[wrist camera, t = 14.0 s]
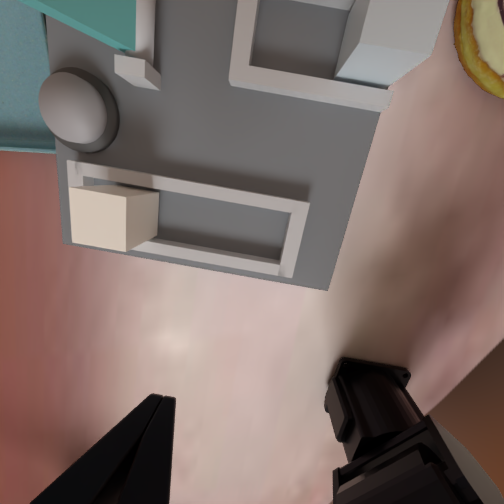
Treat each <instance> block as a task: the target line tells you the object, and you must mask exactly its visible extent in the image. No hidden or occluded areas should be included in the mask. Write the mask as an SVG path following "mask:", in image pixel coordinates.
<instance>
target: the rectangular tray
mask: <svg viewBox="0 0 504 504" xmlns="http://www.w3.org/2000/svg"><path fill="white" fill-rule="evenodd" d="M49 76H50V66H49V53H48V40H47V26H46V14H44V13H42V12H40V11H38V10H36V9H34V8H32V7H30V6H28V5H26V4H24V3H22V2H20V1H18V0H0V150H3V151H19V152H36V153H51V154H56V145H55V136H54V135H53V134H52V133H51V131H50V130H49V128H48V126H47V125H46V123H45V121H44V120H43V117H42V115H41V112H40V109H39V100H38V98H39V91H40V88H41V85H42V84H43V82H44V81H45V79H46V78H47V77H49Z"/></svg>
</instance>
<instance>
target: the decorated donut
mask: <svg viewBox="0 0 504 504" xmlns="http://www.w3.org/2000/svg"><path fill="white" fill-rule="evenodd" d="M454 37H455V43H454V45H456V46H455V48H456V50H457V53H458V58H459V61H460V62H461V63H462V66H463V68H464V70H465V71H466V73H467V74H468V76H469V77H471V78H472V79H473V81H474V82H475V83H476V84H477V85H479V86H480V87H481V89H483V90H484V91H486V92H488V93H490V94H493V95H495V96H497V97H500V98H502V99H504V0H458V4H457V9H456V15H455V19H454Z"/></svg>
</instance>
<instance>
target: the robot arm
mask: <svg viewBox="0 0 504 504" xmlns="http://www.w3.org/2000/svg"><path fill="white" fill-rule="evenodd" d="M344 363H346V364H344ZM410 377H411V373H410V372H409V371H408V369H406V368H402V367H396V366H391V365H385V364H380V363H374V362H369V361H363V360H357V359H352V358H346V357H344V358H342V359H340V361H339V364H338V367H337V369H336V372H335V375H334V377H333V378H332V379H331V382H330V385H329V387H328V390H327V393H326V396H325V400H326V401H325V404H324V408H325V411H326V412H327V413H329V414H330V418H331V422H332V426H333V429H334V433H335V437H336V439H337V441H338V442H341V443H343V446H344V450H345V453H346V457H347V460H348V464H346V465H345V466H343V467H341V468H339V467H338V468H336V469H335V470H333V504H504V499H503V498H502V495H501V493H500V491H499V489H498V488H497V486H496V485H495V484H494V482H493V481H492V480H491V479H490V477H489V476H488V475H487V474H486V473H485V471H484V470H483V469H482V467H481V466H480V465H479V464H478V462H477V461H476V460H475V458H474V457H473V456H472V455H471V453H470V452H469V451H468V450H467V449H466V448H465V447H464V446H463V445H462V444H461V443H460V442H459V441H458V440H457V439H456V438H454V437H453V436H452V435H451V434H450V433H449V432H448V431H447V430H446V429H445V428H444V427H442V426H441V425H440V424H439V423H438V422H437V421H436V420H435V419H434V418H433V417H431V415H427V416H425V417H424V416H423V414H422V413H421V411H420V410H419V408H418V407H417V405H416V403H415V402H414V400H413V399H412V397H411V396H410V394H409V393H408V391H407V390H406V386H407V383H408V381H409V379H410ZM175 408H176V398H175V397H171V396H164V397H163V395H160V394H154V393H153V394H150V395H149V396H148V397H147V398H146V399H144V400H143V401H142V402H141V403H140V404H139V405H138V406H137V407H136V408H134V409H133V410H132V411H131V412H130V413H129V414H128V415H127V416H126V417H125V418H123V419H122V420H121V421H120V422H119V423H118V424H117V425H116V426H115V427H113V428H112V429H111V430H110V431H109V432H108V433H107V434H106V435H105V436H103V437H102V438H101V439H100V440H99V441H98V442H97V443H96V444H95V445H93V446H92V447H91V448H90V449H89V450H88V451H87V452H86V453H85V454H84V455H82V456H81V457H80V458H79V459H78V460H77V461H76V462H75V463H74V464H72V465H71V466H70V467H69V468H68V469H67V470H66V471H65V472H64V473H62V474H61V475H60V476H59V477H58V478H57V479H56V480H55V481H54V482H52V483H51V484H50V485H49V486H48V487H47V488H46V489H45V490H44V491H42V492H41V493H40V494H39V495H38V496H37V497H36V498H35V499H34V500H33V501H31V502H30V504H169V500H170V484H171V469H172V454H173V438H174V423H175Z"/></svg>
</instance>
